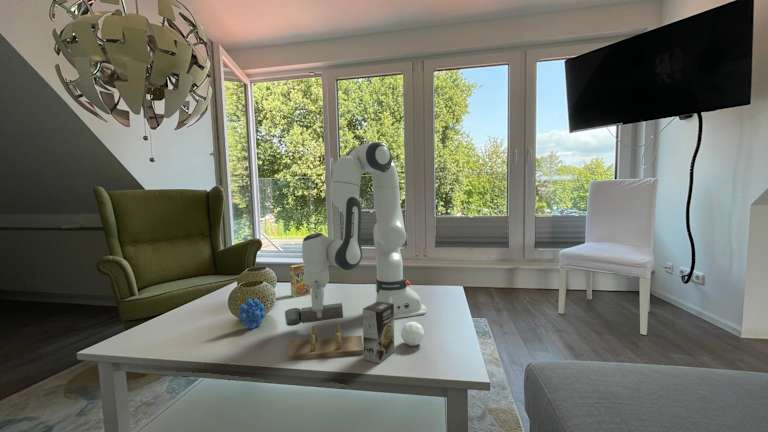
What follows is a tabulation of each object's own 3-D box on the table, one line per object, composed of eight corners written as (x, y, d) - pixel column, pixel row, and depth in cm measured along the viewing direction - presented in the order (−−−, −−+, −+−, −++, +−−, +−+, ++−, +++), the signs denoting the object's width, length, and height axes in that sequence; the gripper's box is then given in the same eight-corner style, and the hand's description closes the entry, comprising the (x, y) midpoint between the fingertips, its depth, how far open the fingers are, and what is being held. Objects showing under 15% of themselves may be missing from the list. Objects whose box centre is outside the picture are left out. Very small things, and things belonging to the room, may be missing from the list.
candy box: (294, 297, 174) (292, 266, 172) (290, 295, 177) (289, 265, 176) (310, 294, 179) (309, 264, 177) (307, 292, 182) (306, 262, 181)
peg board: (361, 339, 124) (360, 321, 124) (363, 354, 113) (362, 334, 113) (291, 344, 121) (290, 326, 121) (286, 360, 110) (285, 340, 110)
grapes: (247, 336, 129) (245, 304, 128) (235, 332, 133) (233, 301, 132) (272, 325, 139) (271, 295, 138) (261, 322, 142) (259, 293, 141)
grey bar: (342, 313, 135) (341, 301, 135) (343, 318, 130) (342, 306, 129) (287, 320, 132) (285, 309, 132) (285, 326, 127) (283, 314, 126)
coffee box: (380, 364, 107) (379, 312, 106) (362, 359, 110) (361, 308, 109) (395, 351, 115) (394, 303, 113) (378, 347, 118) (377, 300, 117)
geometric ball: (419, 353, 119) (429, 339, 115) (397, 347, 118) (406, 333, 113) (418, 334, 125) (427, 320, 121) (397, 328, 124) (406, 314, 120)
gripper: (325, 284, 120) (328, 324, 121) (325, 270, 140) (328, 304, 142) (306, 286, 119) (309, 326, 120) (309, 272, 139) (312, 306, 141)
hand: (319, 314), depth 131 cm, fingers closed on grey bar, 3 cm apart
